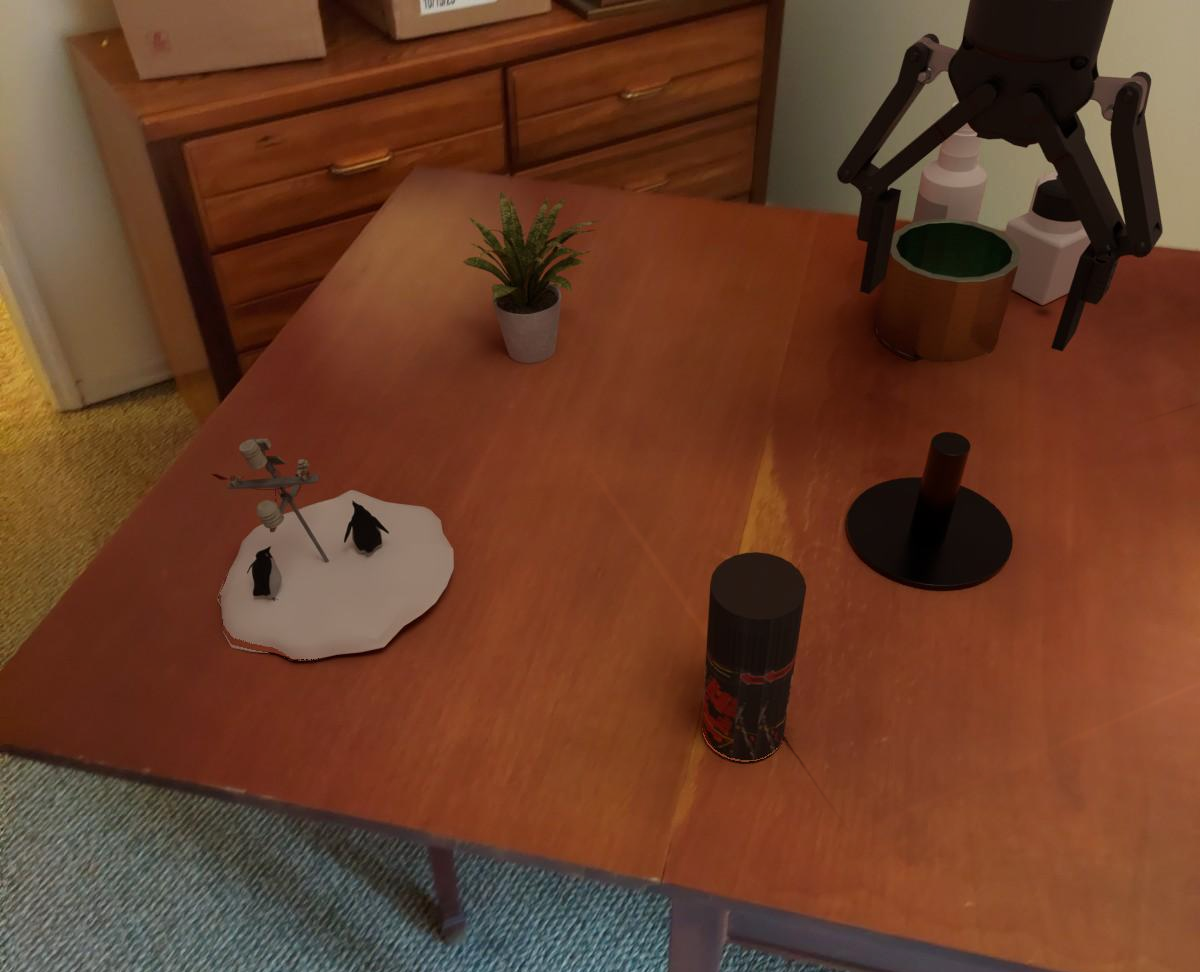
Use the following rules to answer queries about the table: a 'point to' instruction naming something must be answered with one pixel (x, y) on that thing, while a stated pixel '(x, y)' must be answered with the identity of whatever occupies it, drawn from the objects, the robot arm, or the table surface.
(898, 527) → the tin lid
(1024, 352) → the table surface
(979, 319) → the tin
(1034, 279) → the medicine bottle
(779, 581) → the deodorant
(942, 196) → the spray bottle
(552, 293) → the house plant
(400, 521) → the figurine
